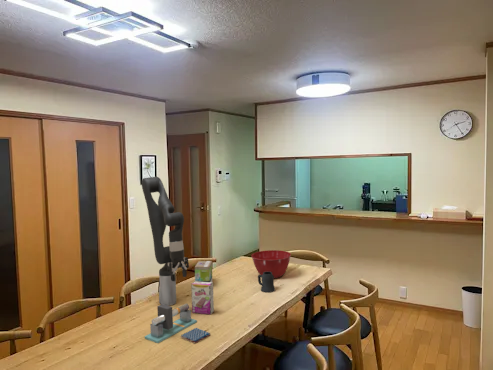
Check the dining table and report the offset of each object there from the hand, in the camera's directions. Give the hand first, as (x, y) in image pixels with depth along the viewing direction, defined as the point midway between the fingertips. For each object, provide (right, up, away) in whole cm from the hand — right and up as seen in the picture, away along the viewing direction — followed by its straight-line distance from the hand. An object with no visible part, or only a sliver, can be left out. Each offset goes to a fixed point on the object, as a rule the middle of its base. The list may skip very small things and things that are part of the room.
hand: (179, 278), depth 197 cm
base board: (0, -20, -20) cm, 28 cm away
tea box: (+8, -16, +46) cm, 50 cm away
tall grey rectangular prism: (-2, -17, -23) cm, 29 cm away
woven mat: (+13, -21, -28) cm, 37 cm away
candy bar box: (+13, -19, 0) cm, 23 cm away
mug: (+49, -16, +33) cm, 62 cm away
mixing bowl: (+55, -14, +62) cm, 84 cm away
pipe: (0, -20, -20) cm, 28 cm away
